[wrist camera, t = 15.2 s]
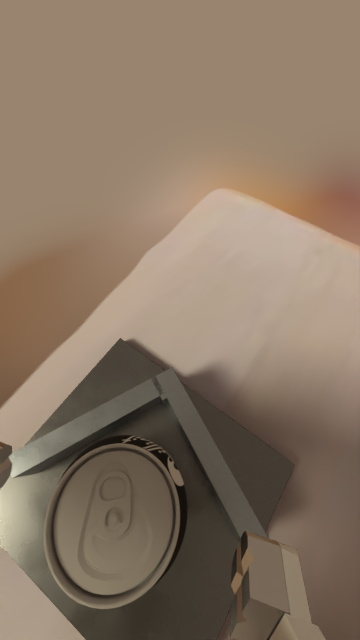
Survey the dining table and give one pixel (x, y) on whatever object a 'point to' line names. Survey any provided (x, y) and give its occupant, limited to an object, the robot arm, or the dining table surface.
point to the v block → (199, 480)
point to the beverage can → (115, 521)
